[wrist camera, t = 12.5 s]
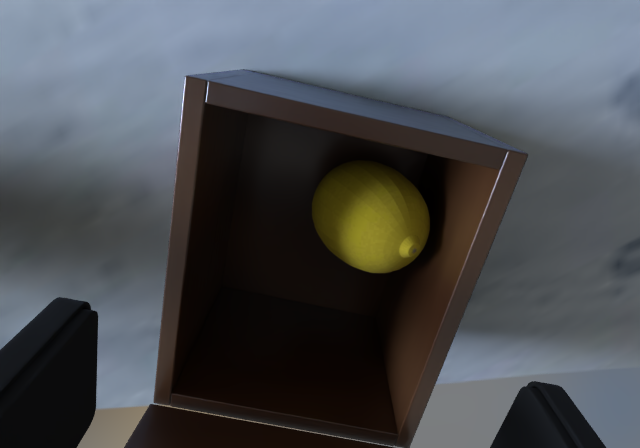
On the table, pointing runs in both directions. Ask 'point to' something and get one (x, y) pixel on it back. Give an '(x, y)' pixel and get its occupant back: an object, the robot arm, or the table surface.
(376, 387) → the chest
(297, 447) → the lid
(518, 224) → the table surface
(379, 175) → the lemon
